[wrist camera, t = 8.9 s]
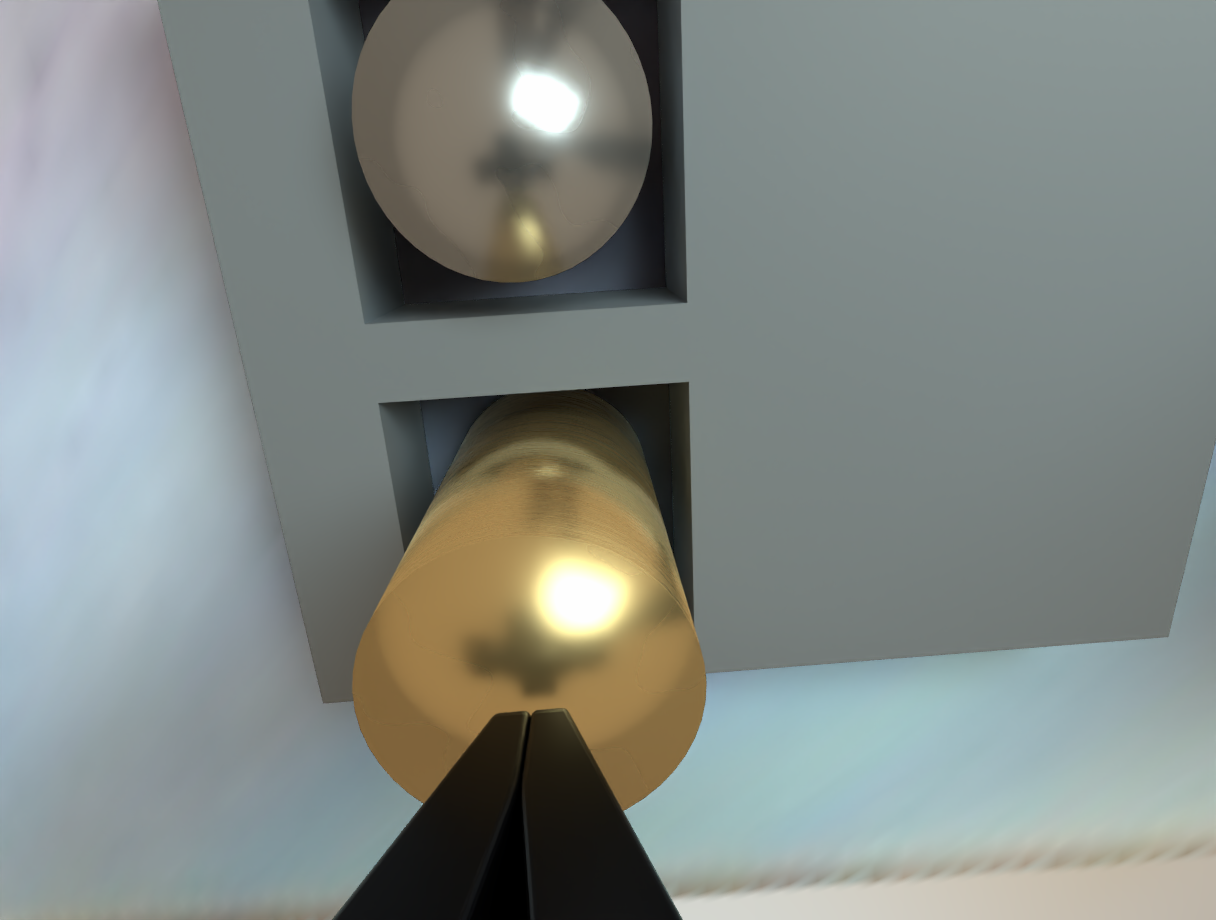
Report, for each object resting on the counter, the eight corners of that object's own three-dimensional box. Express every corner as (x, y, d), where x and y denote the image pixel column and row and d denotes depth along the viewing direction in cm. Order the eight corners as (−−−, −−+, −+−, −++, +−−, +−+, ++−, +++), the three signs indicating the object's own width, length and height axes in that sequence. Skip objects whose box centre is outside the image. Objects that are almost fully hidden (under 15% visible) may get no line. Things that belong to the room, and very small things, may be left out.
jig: (1193, -91, 13) (1364, -176, 10) (1073, 570, 18) (1168, 636, 15) (229, -39, 13) (130, -113, 10) (364, 624, 17) (323, 703, 14)
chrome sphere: (625, 22, 13) (645, -57, 10) (637, 259, 15) (658, 272, 11) (395, 36, 13) (324, -38, 9) (430, 273, 15) (379, 292, 11)
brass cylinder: (641, 378, 16) (703, 523, 8) (649, 554, 17) (709, 818, 9) (445, 392, 15) (319, 552, 8) (470, 567, 17) (384, 845, 9)
